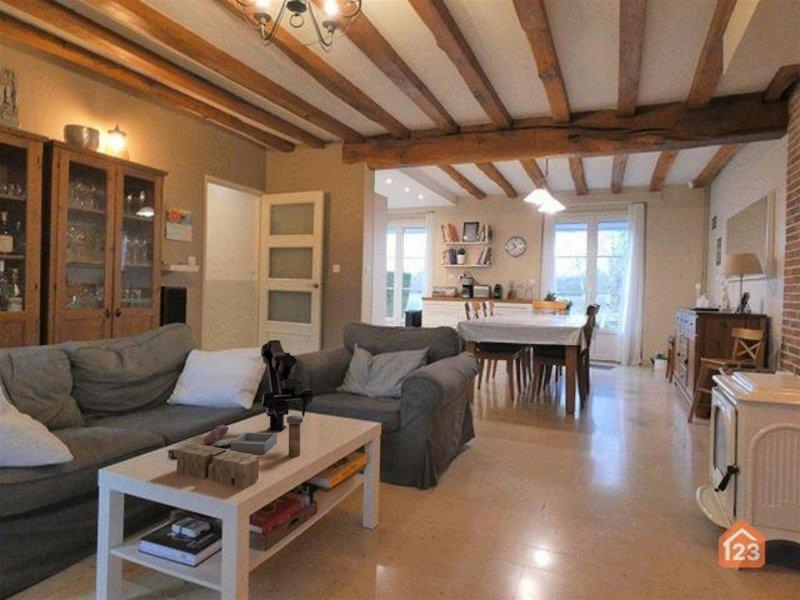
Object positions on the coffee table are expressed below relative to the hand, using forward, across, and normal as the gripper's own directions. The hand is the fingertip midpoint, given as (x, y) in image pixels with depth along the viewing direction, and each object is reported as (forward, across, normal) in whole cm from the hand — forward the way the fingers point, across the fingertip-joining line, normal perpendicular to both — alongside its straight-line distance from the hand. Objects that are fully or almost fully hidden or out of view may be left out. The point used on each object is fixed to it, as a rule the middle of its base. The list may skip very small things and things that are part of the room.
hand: (291, 417), depth 177 cm
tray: (+3, -12, +14) cm, 19 cm away
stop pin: (+13, 0, +4) cm, 13 cm away
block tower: (+20, -26, -2) cm, 33 cm away
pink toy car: (-6, -24, +24) cm, 34 cm away
